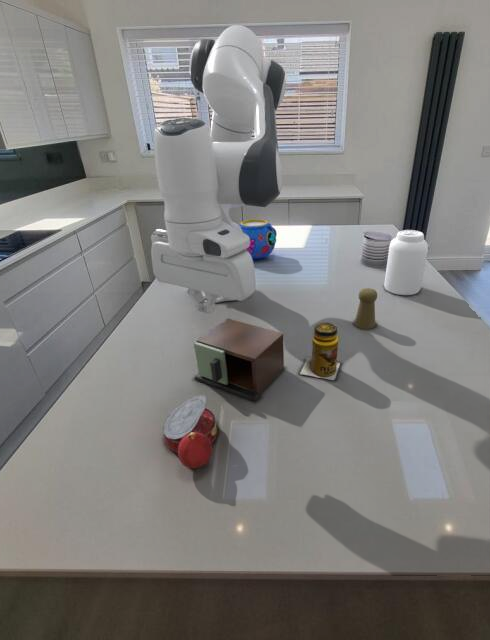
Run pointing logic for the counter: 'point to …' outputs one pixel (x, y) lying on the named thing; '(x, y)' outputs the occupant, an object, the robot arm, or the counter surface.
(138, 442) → the counter surface
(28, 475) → the counter surface
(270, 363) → the cabinet
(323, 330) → the condiment
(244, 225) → the ceramic pot
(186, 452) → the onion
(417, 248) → the white jar
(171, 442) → the canned food
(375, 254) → the can
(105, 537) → the counter surface
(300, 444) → the counter surface
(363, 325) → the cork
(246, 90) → the robot arm
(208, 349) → the sliding door
